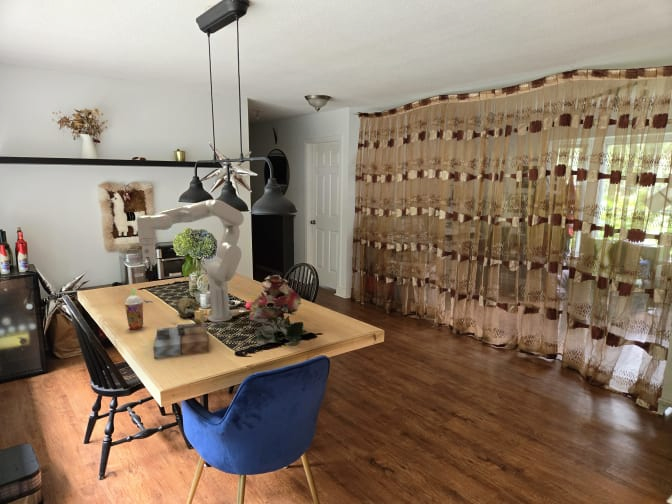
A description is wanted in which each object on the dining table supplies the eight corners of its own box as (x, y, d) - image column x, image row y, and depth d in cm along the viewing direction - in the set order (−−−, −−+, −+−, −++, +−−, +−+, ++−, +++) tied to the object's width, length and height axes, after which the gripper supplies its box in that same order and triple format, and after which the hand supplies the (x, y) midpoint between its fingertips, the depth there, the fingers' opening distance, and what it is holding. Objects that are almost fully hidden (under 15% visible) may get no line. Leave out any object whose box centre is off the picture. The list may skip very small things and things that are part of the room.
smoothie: (125, 331, 210) (121, 292, 207) (129, 325, 218) (125, 288, 215) (143, 329, 213) (140, 291, 209) (146, 324, 220) (143, 287, 217)
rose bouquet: (304, 324, 218) (302, 268, 213) (301, 346, 189) (299, 281, 184) (254, 325, 217) (252, 269, 212) (244, 347, 188) (241, 282, 183)
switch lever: (177, 329, 188) (176, 314, 187) (177, 327, 192) (176, 312, 191) (203, 326, 192) (202, 311, 191) (203, 324, 195) (202, 309, 194)
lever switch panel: (206, 333, 207) (205, 315, 205) (208, 351, 184) (207, 332, 183) (158, 338, 200) (156, 321, 198) (154, 358, 177) (152, 338, 176)
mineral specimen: (203, 317, 231) (202, 299, 230) (179, 320, 226) (177, 303, 224) (199, 310, 244) (198, 293, 243) (175, 313, 238) (174, 296, 237)
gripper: (153, 243, 192) (157, 279, 195) (158, 238, 208) (161, 272, 211) (135, 244, 190) (139, 281, 193) (141, 239, 206) (145, 273, 209)
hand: (151, 276), depth 202 cm, fingers open, 9 cm apart
